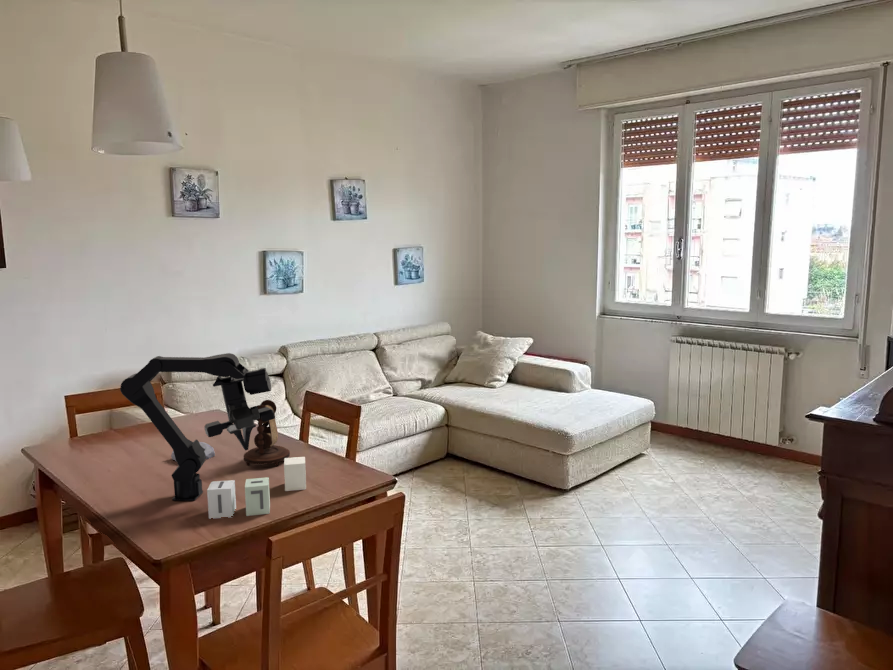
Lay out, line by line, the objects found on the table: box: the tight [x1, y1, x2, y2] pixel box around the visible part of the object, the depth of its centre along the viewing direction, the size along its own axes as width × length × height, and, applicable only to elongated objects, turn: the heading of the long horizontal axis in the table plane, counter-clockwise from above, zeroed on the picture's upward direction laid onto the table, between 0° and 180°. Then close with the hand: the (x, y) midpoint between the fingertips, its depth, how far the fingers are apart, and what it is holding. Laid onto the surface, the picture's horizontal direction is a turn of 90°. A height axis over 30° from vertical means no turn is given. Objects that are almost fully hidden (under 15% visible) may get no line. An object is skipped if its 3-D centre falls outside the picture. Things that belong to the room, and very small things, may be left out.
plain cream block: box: [283, 456, 307, 492], centre depth 191 cm, size 6×6×8 cm
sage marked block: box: [244, 476, 271, 517], centre depth 174 cm, size 6×6×8 cm
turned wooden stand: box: [243, 399, 291, 467], centre depth 212 cm, size 15×15×20 cm
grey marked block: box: [206, 479, 237, 520], centre depth 172 cm, size 6×6×8 cm
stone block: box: [170, 441, 216, 462], centre depth 216 cm, size 12×5×10 cm
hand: (246, 450), depth 184 cm, fingers closed
